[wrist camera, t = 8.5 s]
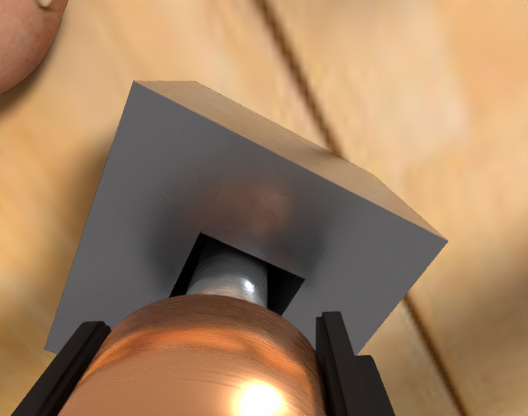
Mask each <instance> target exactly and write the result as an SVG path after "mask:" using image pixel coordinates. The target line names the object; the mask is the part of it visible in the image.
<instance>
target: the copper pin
mask: <svg viewBox="0 0 528 416" xmlns="http://www.w3.org/2000/svg"><path fill="white" fill-rule="evenodd" d="M57 416H331V412H330V406H329V401H328V396H327V391H326V386H325V381H324V375H323V370H322V366H321V362H320V360H319V358H318V355H317V353H316V351H315V350H314V348H313V346H312V345H311V343H310V342H309V340H308V339H307V338H306V337H305V336H304V335H303V334H302V333H301V331H300V330H298V329H297V328H296V327H295V326H294V325H293V324H291V323H290V322H289V321H288V320H286V319H285V318H283V317H281V316H280V315H278V314H277V313H275V312H273V311H271V310H269V309H267V262H266V261H264V260H261V259H259V258H257V257H255V256H253V255H250V254H248V253H246V252H244V251H241V250H239V249H237V248H235V247H232V246H230V245H228V244H226V243H223V242H221V241H219V240H217V239H215V238H212V237H210V236H208V238H207V240H206V243H205V245H204V248H203V250H202V253H201V256H200V258H199V261H198V263H197V266H196V269H195V271H194V274H193V277H192V279H191V282H190V284H189V287H188V290H187V292H186V295H182V296H176V297H171V298H166V299H162V300H159V301H157V302H154V303H151V304H148V305H146V306H144V307H142V308H140V309H138V310H136V311H134V312H133V313H131V314H130V315H128V316H127V317H126V318H124V319H123V320H122V321H121V322H120V323H119V324H117V325H116V326H115V327H114V328H113V330H112V331H111V332H110V334H109V335H108V336H107V337H106V339H105V341H104V342H103V344H102V345H101V347H100V348H99V350H98V352H97V353H96V355H95V356H94V358H93V360H92V361H91V363H90V364H89V366H88V368H87V369H86V371H85V372H84V374H83V376H82V377H81V379H80V380H79V382H78V384H77V385H76V387H75V388H74V390H73V391H72V393H71V395H70V396H69V398H68V399H67V401H66V403H65V404H64V406H63V407H62V409H61V411H60V412H59V414H58V415H57Z"/></svg>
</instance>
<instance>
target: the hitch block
mask: <svg viewBox="0 0 528 416" xmlns="http://www.w3.org/2000/svg"><path fill="white" fill-rule="evenodd" d="M208 236H210V237H212V238H215V239H217V240H219V241H221V242H223V243H226V244H228V245H230V246H232V247H235V248H237V249H239V250H241V251H244V252H246V253H248V254H250V255H253V256H255V257H257V258H259V259H261V260H264V261H266V262H267V309H269V310H271V311H273V312H275V313H277V314H278V315H280V316H281V317H283V318H285V319H286V320H288V321H289V322H290V323H291V324H293V325H294V326H295V327H296V328H297V329H298V330H300V331H301V333H302V334H303V335H304V336H305V337H306V338H307V339H308V340H309V342H310V343H311V345H312V346H313V348H314V350H315V351H316V317H322V312H329V311H340V312H341V315H342V318H343V321H344V324H345V327H346V330H347V333H348V336H349V339H350V342H351V346H352V349H353V352H354V355H355V356H356V355H357V354H358V353H359V352H360V350H361V349H362V348H363V347H364V345H365V344H366V343H367V342H368V340H369V339H370V338H371V337H372V335H373V334H374V333H375V332H376V330H377V329H378V328H379V327H380V325H381V324H382V323H383V322H384V321H385V319H386V318H387V317H388V316H389V314H390V313H391V312H392V311H393V309H394V308H395V307H396V306H397V304H398V303H399V302H400V301H401V299H402V298H403V297H404V296H405V294H406V293H407V292H408V291H409V289H410V288H411V287H412V286H413V284H414V283H415V282H416V281H417V280H418V278H419V277H420V276H421V275H422V273H423V272H424V271H425V270H426V268H427V267H428V266H429V265H430V263H431V262H432V261H433V260H434V258H435V257H436V256H437V255H438V253H439V252H440V251H441V250H442V248H443V247H444V246H445V245H446V244H447V242H448V240H447V239H446V238H445V237H443V236H442V235H441V234H440V233H439V232H438V231H437V230H435V229H434V228H433V227H432V226H431V225H430V224H429V223H428V222H426V221H425V220H424V219H423V218H422V217H421V216H420V215H418V214H417V213H416V212H415V211H414V210H413V209H412V208H411V207H409V206H408V205H407V204H406V203H405V202H404V201H403V200H402V199H400V198H399V197H398V196H397V195H396V194H395V193H394V192H392V191H391V190H390V189H389V188H388V187H387V186H386V185H385V184H383V183H382V182H381V181H380V180H379V179H378V178H377V177H375V176H374V175H373V174H371V173H369V172H367V171H366V170H364V169H362V168H360V167H358V166H356V165H354V164H352V163H350V162H348V161H346V160H345V159H343V158H341V157H339V156H337V155H335V154H333V153H331V152H329V151H327V150H325V149H324V148H322V147H320V146H318V145H316V144H314V143H312V142H310V141H308V140H306V139H304V138H303V137H301V136H299V135H297V134H295V133H293V132H291V131H289V130H287V129H285V128H284V127H282V126H280V125H278V124H276V123H274V122H272V121H270V120H268V119H266V118H264V117H263V116H261V115H259V114H257V113H255V112H253V111H251V110H249V109H247V108H245V107H243V106H242V105H240V104H238V103H236V102H234V101H232V100H230V99H228V98H226V97H224V96H222V95H221V94H219V93H217V92H215V91H213V90H211V89H209V88H207V87H205V86H203V85H202V84H200V83H198V82H196V81H133V84H132V87H131V90H130V93H129V96H128V99H127V102H126V105H125V108H124V111H123V114H122V117H121V120H120V123H119V126H118V129H117V132H116V135H115V138H114V141H113V144H112V147H111V150H110V153H109V156H108V159H107V162H106V165H105V168H104V171H103V174H102V177H101V180H100V183H99V186H98V189H97V192H96V195H95V198H94V201H93V204H92V207H91V210H90V213H89V216H88V219H87V222H86V225H85V228H84V231H83V234H82V237H81V240H80V243H79V246H78V249H77V252H76V255H75V258H74V261H73V264H72V267H71V270H70V273H69V276H68V279H67V282H66V285H65V288H64V291H63V294H62V297H61V300H60V304H59V307H58V310H57V313H56V316H55V319H54V322H53V325H52V328H51V331H50V334H49V337H48V340H47V343H46V346H45V350H48V351H50V352H53V353H56V354H58V353H59V352H60V351H61V349H62V348H63V347H64V345H65V344H66V343H67V341H68V340H69V339H70V337H71V336H72V335H73V334H74V332H75V331H76V330H77V328H78V327H79V326H80V325H81V324H82V323H83V322H86V321H104V322H105V324H106V325H108V326H110V328H111V331H112V330H113V328H114V327H115V326H116V325H117V324H119V323H120V322H121V321H122V320H123V319H124V318H126V317H127V316H128V315H130V314H131V313H133V312H134V311H136V310H138V309H140V308H142V307H144V306H146V305H148V304H151V303H154V302H157V301H159V300H162V299H166V298H171V297H176V296H182V295H186V292H187V290H188V287H189V284H190V282H191V279H192V277H193V274H194V271H195V269H196V266H197V263H198V261H199V258H200V256H201V253H202V250H203V248H204V245H205V243H206V240H207V238H208Z"/></svg>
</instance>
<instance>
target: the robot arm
mask: <svg viewBox="0 0 528 416" xmlns="http://www.w3.org/2000/svg"><path fill="white" fill-rule="evenodd" d="M110 332H111V328H110V326H108V325H106V324H105V322H104V321H86V322H83V323H82V324H81V325H80V326H79V327H78V328H77V330H76V331H75V332H74V334H73V335H72V336H71V337H70V339H69V340H68V341H67V343H66V344H65V345H64V347H63V348H62V349H61V351H60V352H59V353H58V355H57V356H56V357H55V358H54V360H53V361H52V362H51V364H50V365H49V366H48V368H47V369H46V370H45V372H44V373H43V374H42V375H41V377H40V378H39V379H38V381H37V382H36V383H35V385H34V386H33V387H32V389H31V390H30V391H29V392H28V394H27V395H26V396H25V398H24V399H23V400H22V402H21V403H20V404H19V406H18V407H17V408H16V409H15V411H14V412H13V413H12V415H11V416H57V415H58V414H59V412H60V411H61V409H62V407H63V406H64V404H65V403H66V401H67V399H68V398H69V396H70V395H71V393H72V391H73V390H74V388H75V387H76V385H77V384H78V382H79V380H80V379H81V377H82V376H83V374H84V372H85V371H86V369H87V368H88V366H89V364H90V363H91V361H92V360H93V358H94V356H95V355H96V353H97V352H98V350H99V348H100V347H101V345H102V344H103V342H104V341H105V339H106V337H107V336H108V335H109V334H110ZM316 353H317V355H318V358H319V360H320V362H321V366H322V370H323V375H324V381H325V386H326V391H327V396H328V401H329V406H330V412H331V416H395V414H394V411H393V408H392V406H391V403H390V401H389V398H388V395H387V393H386V390H385V388H384V385H383V382H382V380H381V377H380V375H379V372H378V370H377V367H376V364H375V362H374V360H373V358H372V357H371V355H362V356H355V355H354V352H353V349H352V346H351V342H350V339H349V336H348V333H347V330H346V327H345V324H344V321H343V318H342V315H341V312H340V311H329V312H322V317H316Z"/></svg>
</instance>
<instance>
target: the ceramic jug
mask: <svg viewBox="0 0 528 416" xmlns="http://www.w3.org/2000/svg"><path fill="white" fill-rule="evenodd" d="M67 3H68V0H0V94H2V93H3V92H5V91H7V90H9V89H10V88H12V87H14V86H15V85H17V84H18V83H20V82H21V81H22V80H24V79H25V78H26V77H27V76H28V75H29V74H30V73H32V72H33V71H34V70H35V69H36V67H37V66H38V65H39V64H40V62H41V61H42V60H43V58H44V57H45V55H46V53H47V52H48V50H49V48H50V47H51V44H52V43H53V40H54V38H55V36H56V33H57V31H58V28H59V26H60V23H61V20H62V16H63V13H64V10H65V8H66V6H67Z"/></svg>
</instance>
